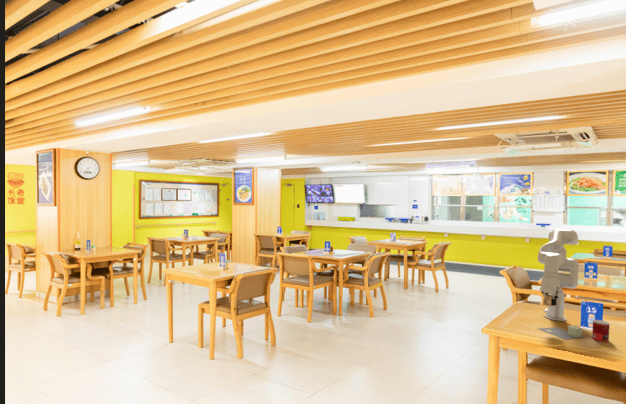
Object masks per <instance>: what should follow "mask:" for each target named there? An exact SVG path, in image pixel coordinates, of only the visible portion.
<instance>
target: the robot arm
mask: <svg viewBox="0 0 626 404" xmlns="http://www.w3.org/2000/svg"><path fill="white" fill-rule="evenodd" d="M548 241H549V242H547V243H545V244H543V245H541V247H540V248H539V250H538V254H537V261H538V262H539V263H540V264H542V265H544V270H543V275H542V277H541V283H540V288H539V291H540V292H541V294H542V296H544V294H551V295H552V298H553V299H552V303H551V305H556V306H547V308H545V309H544V310H543V312H544V313H545V315H544V316H545V318H547V319H549V320H552V321H558V322H564V321H567V317H565V296H566V295H565V291H564V290H563V289H562V288H566V289H574V290H575V289H577V287H578V282H579V268H580V267H579V266H580V263H579V261H578V260H577V259H575V258H572V257H571V258H570V257H567V249H566V248H565V245H571V246H576V245H577V244H578V242H579V235H578V234H577V232H576V231H575V230H573V229H564V228H555V229H552V231H551V232H549V233H548ZM564 272H565V273H564ZM554 295H555V296H554ZM556 299H557V304H556Z"/></svg>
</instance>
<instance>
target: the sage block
mask: <svg viewBox="0 0 626 404" xmlns="http://www.w3.org/2000/svg"><path fill="white" fill-rule="evenodd" d="M567 331H568V335H571V336H573V337H583V336H582V333H583V328H582V327H579V326H577V325H568V326H567Z"/></svg>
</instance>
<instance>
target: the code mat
mask: <svg viewBox="0 0 626 404" xmlns="http://www.w3.org/2000/svg"><path fill="white" fill-rule="evenodd" d="M538 331H541V332H544V333H546V334H549V335H552V336H554V337H557V338H559V339H562V340H564V341H569V340H579V339H586V337H585V336H582V337H573V336H571V335H568V330H566V329H563V328H560V327H558V326H555V327H554V326H553V327H542V328H541V327H539V328H538Z"/></svg>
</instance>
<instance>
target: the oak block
mask: <svg viewBox="0 0 626 404" xmlns="http://www.w3.org/2000/svg"><path fill="white" fill-rule="evenodd" d="M542 296H543V295H542ZM554 296H555V295H554ZM552 299H553V298H552V295H551V294H549V293H548V294H544V296H543V299H542V300H543V302H542V304H543V305H545V306H547V307H548V306H556V305H551V303H552ZM556 304H557V299H556Z"/></svg>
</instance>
